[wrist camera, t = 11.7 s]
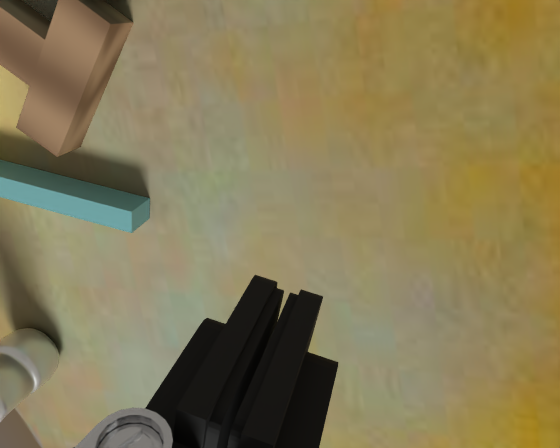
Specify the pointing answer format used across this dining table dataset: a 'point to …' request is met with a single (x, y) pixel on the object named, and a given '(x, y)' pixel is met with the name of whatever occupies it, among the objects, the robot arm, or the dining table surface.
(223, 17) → the dining table surface
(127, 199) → the teal corral
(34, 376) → the plastic bottle
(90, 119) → the walnut T-block
